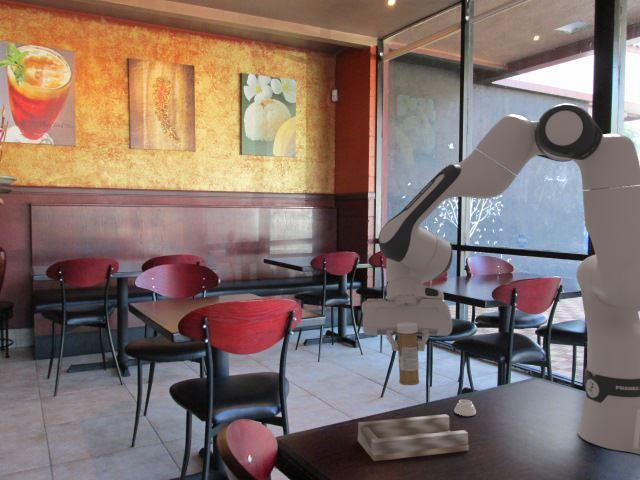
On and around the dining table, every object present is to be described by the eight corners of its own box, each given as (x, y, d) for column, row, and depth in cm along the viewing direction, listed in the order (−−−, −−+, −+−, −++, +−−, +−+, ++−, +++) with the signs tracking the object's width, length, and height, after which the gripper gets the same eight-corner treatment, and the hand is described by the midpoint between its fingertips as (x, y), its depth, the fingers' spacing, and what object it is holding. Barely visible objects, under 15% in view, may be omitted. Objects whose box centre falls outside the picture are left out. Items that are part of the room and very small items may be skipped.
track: (445, 431, 122) (445, 413, 122) (468, 450, 112) (468, 430, 112) (357, 440, 117) (357, 422, 117) (374, 461, 107) (374, 440, 107)
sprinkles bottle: (399, 380, 127) (397, 321, 127) (420, 380, 126) (417, 321, 126) (398, 386, 123) (395, 325, 122) (419, 386, 122) (416, 325, 121)
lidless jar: (471, 419, 130) (479, 412, 134) (471, 406, 130) (479, 400, 134) (451, 414, 133) (459, 408, 137) (451, 402, 133) (459, 396, 137)
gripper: (361, 291, 132) (360, 341, 122) (449, 290, 130) (455, 342, 120) (362, 306, 136) (361, 356, 127) (447, 306, 134) (453, 357, 125)
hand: (408, 349), depth 124 cm, fingers closed on sprinkles bottle, 4 cm apart
